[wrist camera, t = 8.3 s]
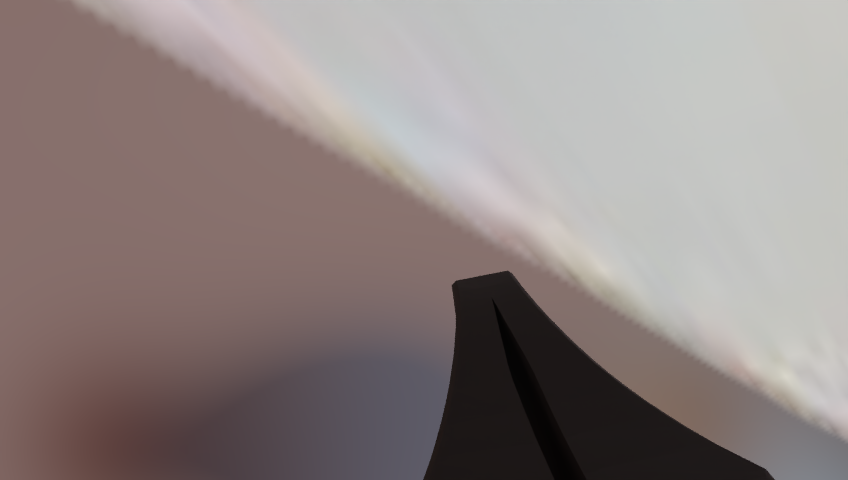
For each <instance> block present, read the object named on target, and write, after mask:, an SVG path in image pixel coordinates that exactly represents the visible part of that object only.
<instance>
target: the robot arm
mask: <svg viewBox="0 0 848 480" xmlns="http://www.w3.org/2000/svg"><path fill="white" fill-rule="evenodd" d="M452 291H453V298H454V306H455V313H456V333H455V348H454V357H453V364H452V371H451V377H450V384H449V389H448V394H447V399H446V404H445V408H444V413H443V417H442V422H441V425H440V429H439V432H438V436H437V440H436V443H435V447H434V450H433V453H432V456H431V460H430V462H429V466H428V468H427V471H426V474H425V476H424V479H423V480H774V478H773V477H772V476H771V475H770V474H769V472H768V471H767V470H766V469H764V468H762V467H760V466H758V465H756V464H754V463H752V462H750V461H748V460H746V459H744V458H742V457H740V456H738V455H737V454H734V453H733V452H730V451H729V450H727V449H724V448H723V447H721V446H719V445H717V444H715V443H713V442H711V441H710V440H708V439H706V438H704V437H703V436H701V435H699V434H698V433H696V432H694V431H692V430H691V429H689V428H687V427H686V426H684V425H683V424H681V423H679V422H678V421H676V420H675V419H673V418H672V417H670V416H668V415H667V414H665V413H664V412H662V411H661V410H659V409H658V408H656V407H655V406H653V405H652V404H650V403H648V402H647V401H646V400H644V399H643V398H641V397H640V396H639V395H637V394H636V393H634V392H633V391H632V390H630V389H629V388H628V387H626V386H625V385H624V384H622V383H621V382H620V381H618V380H617V379H616V378H614V377H613V376H612V375H611V374H609V373H608V372H607V371H606V370H605V369H603V368H602V367H601V366H600V365H598V364H597V363H596V362H595V361H594V360H593V359H592V358H590V357H589V356H588V355H587V354H586V353H585V352H584V351H583V350H582V349H581V348H579V347H578V346H577V345H576V344H575V343H574V342H573V341H572V340H571V339H570V338H569V337H568V336H567V335H566V334H565V333H564V332H563V331H562V330H561V329H560V328H559V327H558V326H557V325H556V324H555V323H554V322H553V321H552V320H551V319H550V318H549V317H548V316H547V315H546V314H545V313H544V312H543V310H542V309H541V308H540V307H539V306H538V305H537V304H536V303H535V301H534V300H533V299H532V298H531V297H530V296H529V294H528V293H527V292H526V291H525V290H524V288H523V287H522V286H521V285H520V283H519V282H518V281H517V279H516V278H515V277H514V276H513V274H512V273H510V272H509V271H504V272H499V273H494V274H489V275H483V276H478V277H473V278H468V279H463V280H458V281H455V283H454V284H453V285H452Z"/></svg>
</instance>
